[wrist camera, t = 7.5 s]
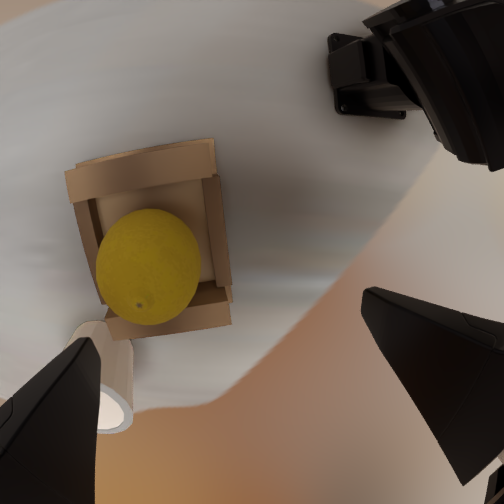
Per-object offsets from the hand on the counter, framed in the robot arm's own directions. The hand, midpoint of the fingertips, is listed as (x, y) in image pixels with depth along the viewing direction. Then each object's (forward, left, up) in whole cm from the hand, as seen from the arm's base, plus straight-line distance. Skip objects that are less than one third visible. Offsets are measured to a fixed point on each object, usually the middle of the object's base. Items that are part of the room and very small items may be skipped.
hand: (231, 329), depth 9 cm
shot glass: (+11, +9, -12) cm, 19 cm away
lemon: (+3, 0, -11) cm, 12 cm away
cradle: (+3, 0, -12) cm, 13 cm away
